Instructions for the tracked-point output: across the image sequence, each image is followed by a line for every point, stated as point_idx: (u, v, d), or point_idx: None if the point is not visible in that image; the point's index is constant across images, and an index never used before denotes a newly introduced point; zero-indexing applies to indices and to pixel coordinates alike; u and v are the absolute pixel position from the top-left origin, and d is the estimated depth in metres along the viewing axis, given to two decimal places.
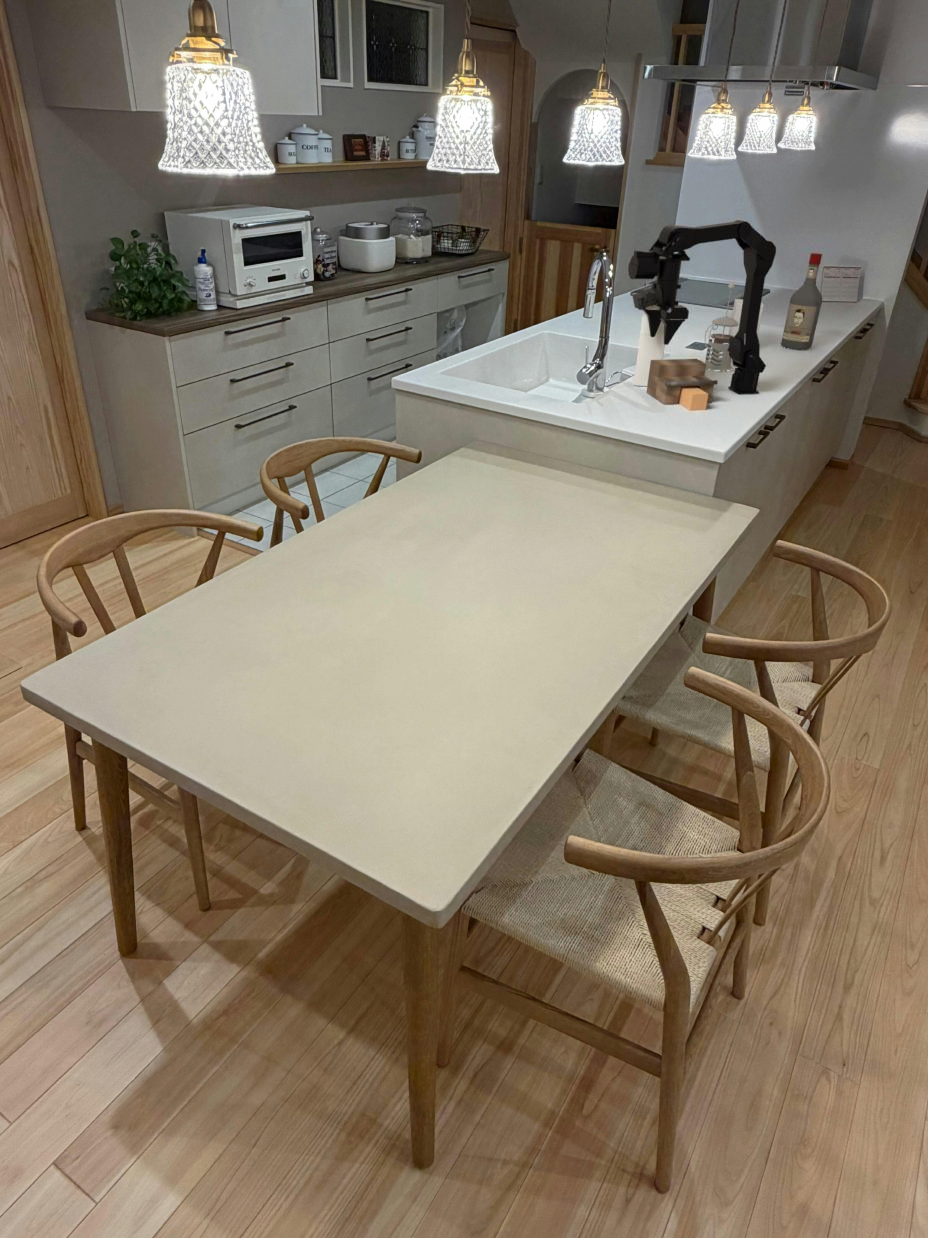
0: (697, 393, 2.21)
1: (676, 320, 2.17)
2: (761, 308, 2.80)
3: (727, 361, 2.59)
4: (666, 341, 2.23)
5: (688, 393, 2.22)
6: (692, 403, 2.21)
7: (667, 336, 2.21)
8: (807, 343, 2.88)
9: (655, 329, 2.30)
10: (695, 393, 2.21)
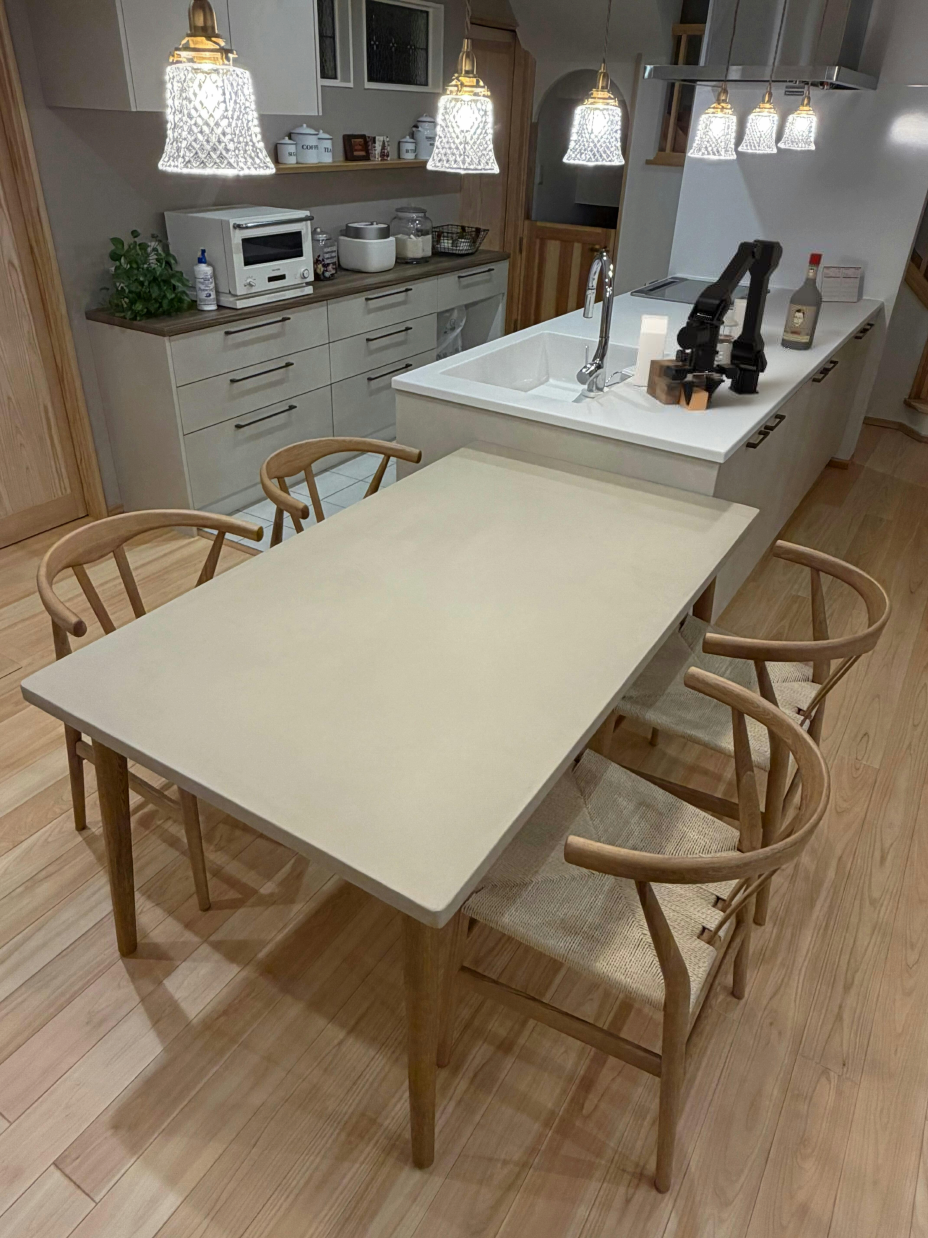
0: (697, 392, 2.21)
1: None
2: None
3: (727, 361, 2.59)
4: (685, 401, 2.22)
5: None
6: (692, 402, 2.21)
7: (685, 396, 2.22)
8: (807, 343, 2.88)
9: None
10: (695, 392, 2.21)
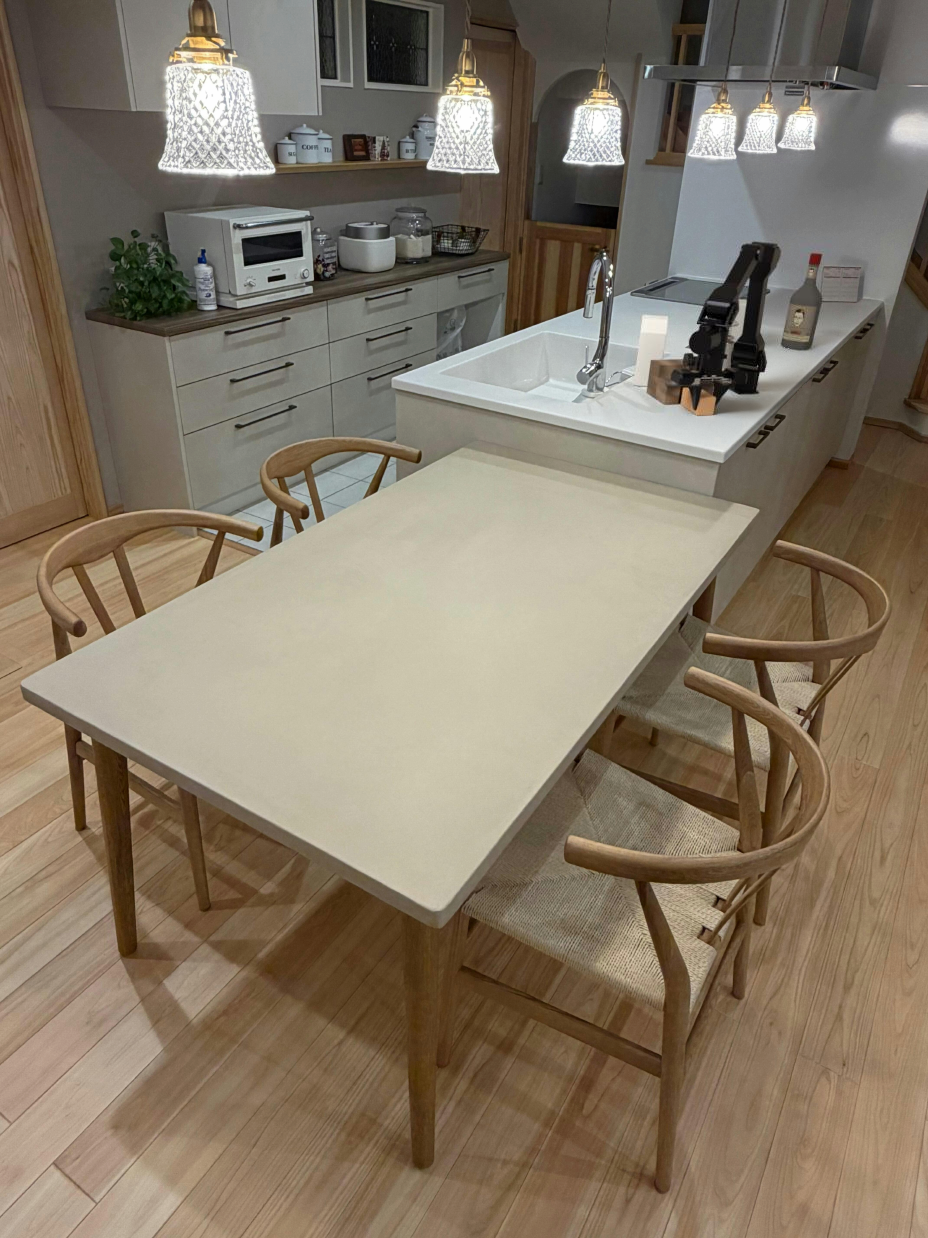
0: (705, 397, 2.17)
1: None
2: None
3: (727, 361, 2.59)
4: (693, 406, 2.19)
5: None
6: (699, 407, 2.17)
7: (692, 401, 2.18)
8: (807, 343, 2.88)
9: None
10: (703, 397, 2.17)
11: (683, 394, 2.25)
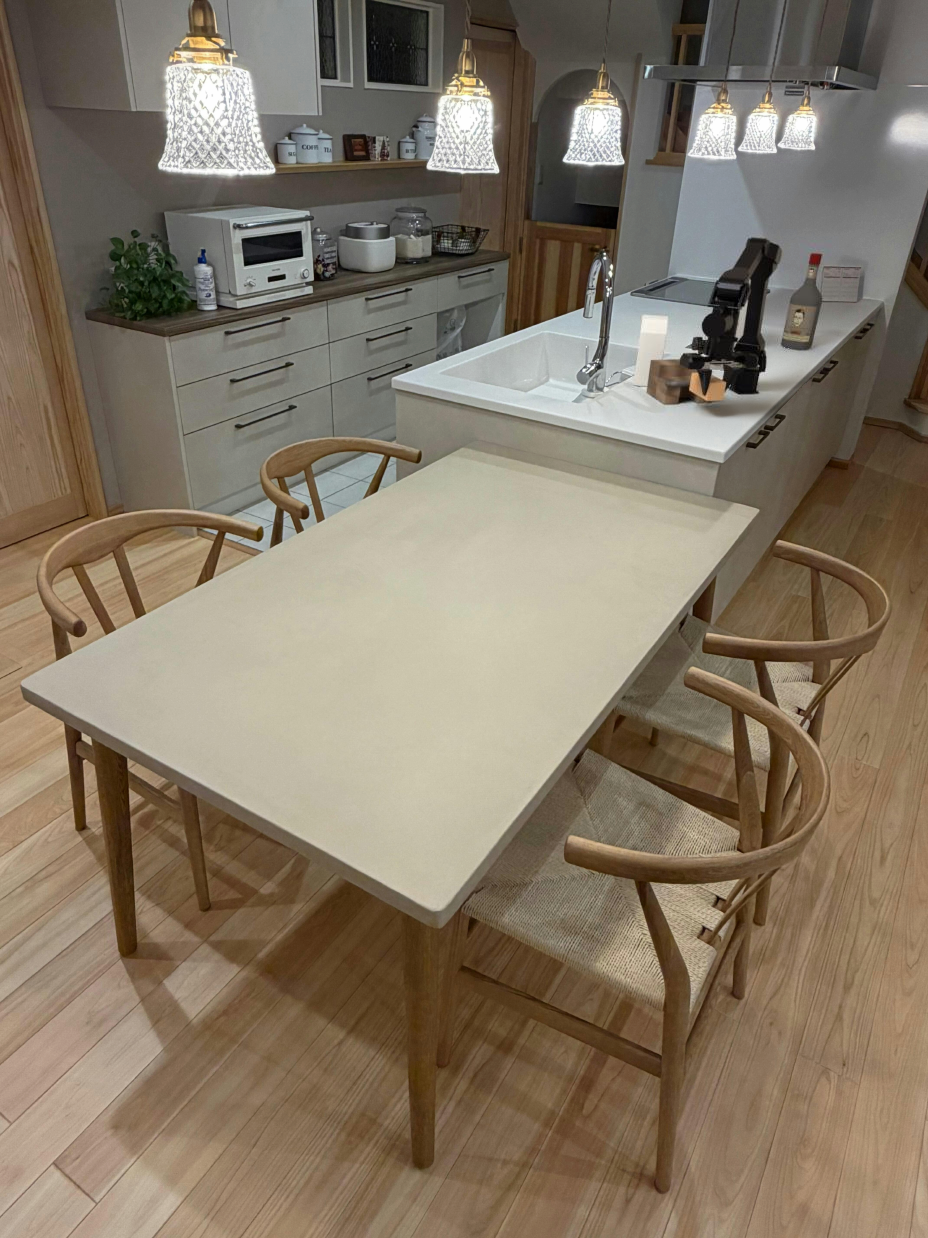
0: (714, 382, 2.12)
1: (696, 368, 2.09)
2: None
3: None
4: (702, 391, 2.13)
5: None
6: (709, 392, 2.12)
7: (701, 386, 2.13)
8: (807, 343, 2.88)
9: None
10: (712, 381, 2.12)
11: (692, 379, 2.19)
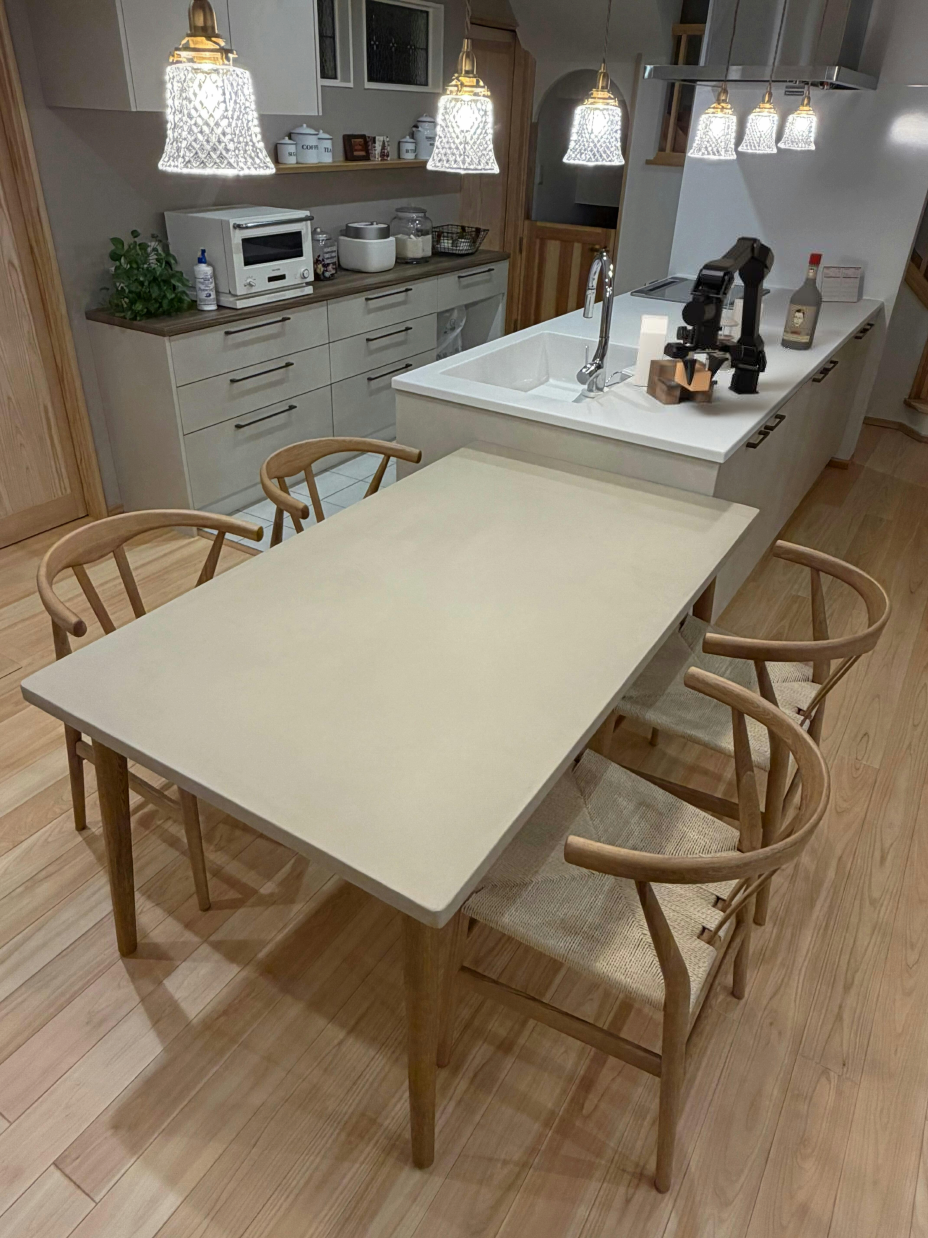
0: (699, 371, 2.09)
1: None
2: (761, 308, 2.80)
3: (727, 361, 2.59)
4: (687, 381, 2.11)
5: None
6: (694, 382, 2.09)
7: (686, 376, 2.10)
8: (807, 343, 2.88)
9: None
10: (697, 371, 2.09)
11: (677, 369, 2.16)
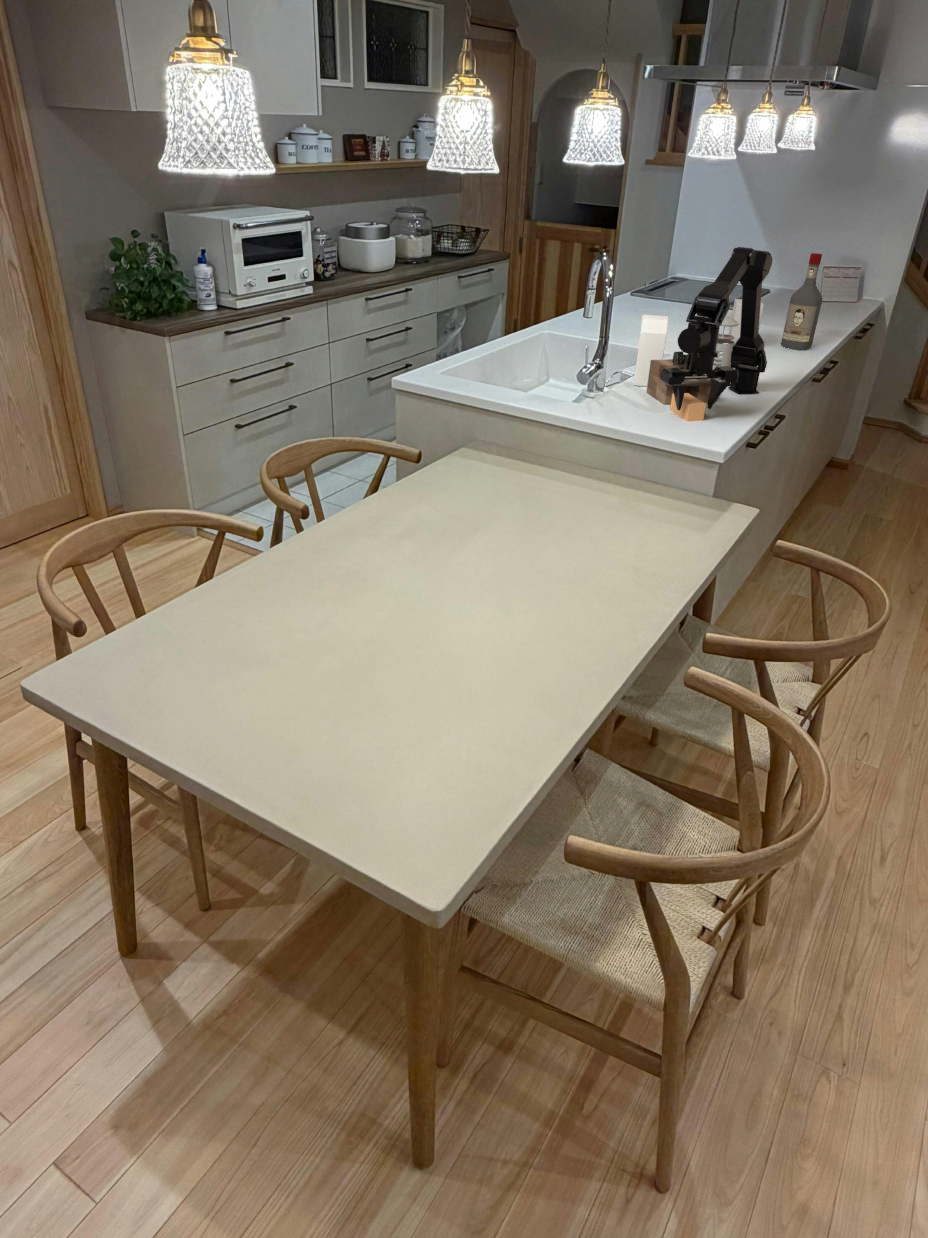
0: (694, 403, 2.13)
1: (670, 383, 2.09)
2: (761, 308, 2.80)
3: (727, 361, 2.59)
4: (676, 406, 2.13)
5: (685, 403, 2.14)
6: (689, 413, 2.13)
7: (676, 400, 2.13)
8: (807, 343, 2.88)
9: (710, 401, 2.14)
10: (692, 403, 2.13)
11: (672, 400, 2.20)
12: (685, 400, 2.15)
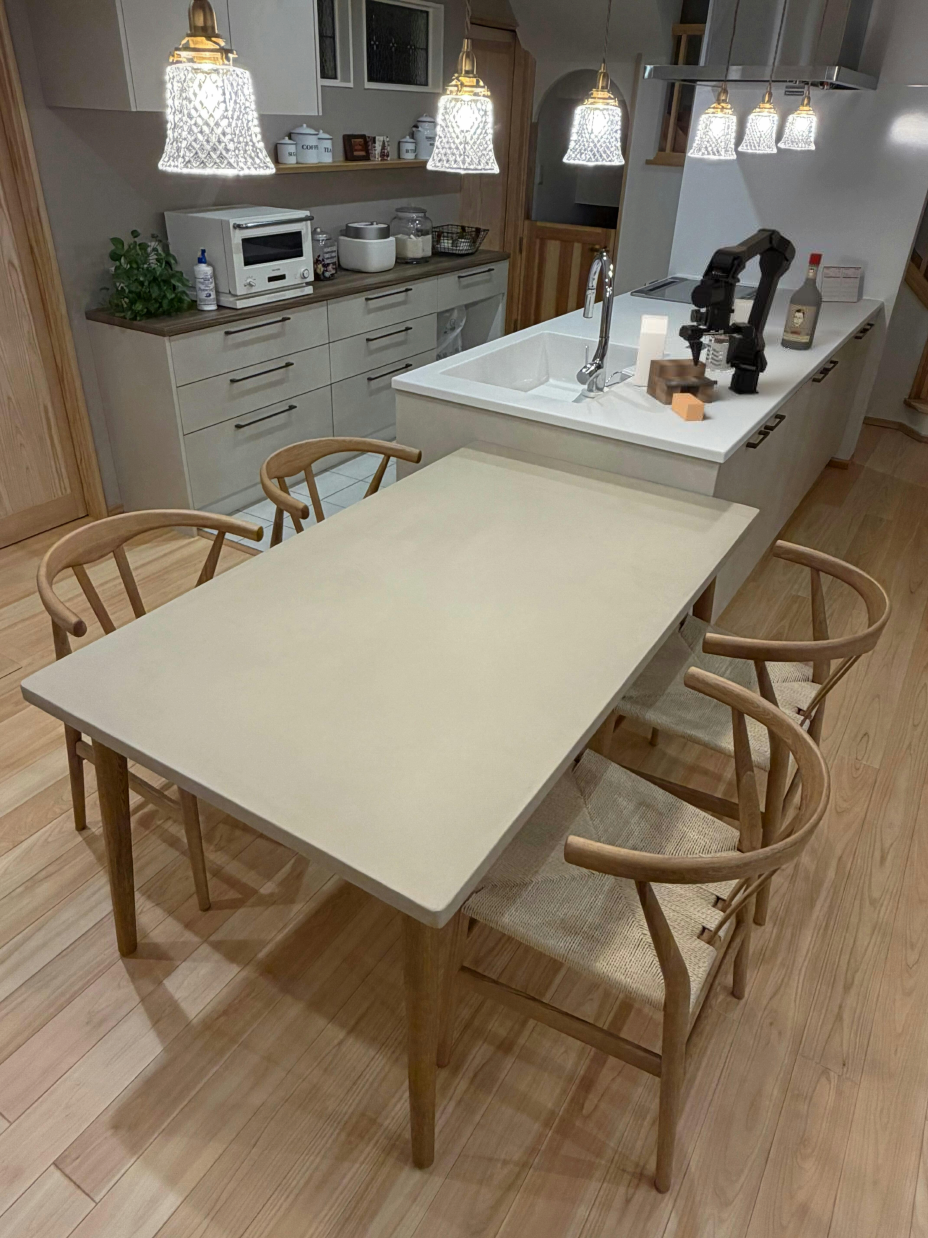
0: (693, 403, 2.13)
1: (688, 340, 2.17)
2: None
3: None
4: (694, 362, 2.22)
5: (684, 403, 2.14)
6: (688, 413, 2.13)
7: (693, 357, 2.21)
8: (807, 343, 2.88)
9: (729, 356, 2.22)
10: (691, 403, 2.13)
11: (673, 400, 2.20)
12: (684, 400, 2.15)
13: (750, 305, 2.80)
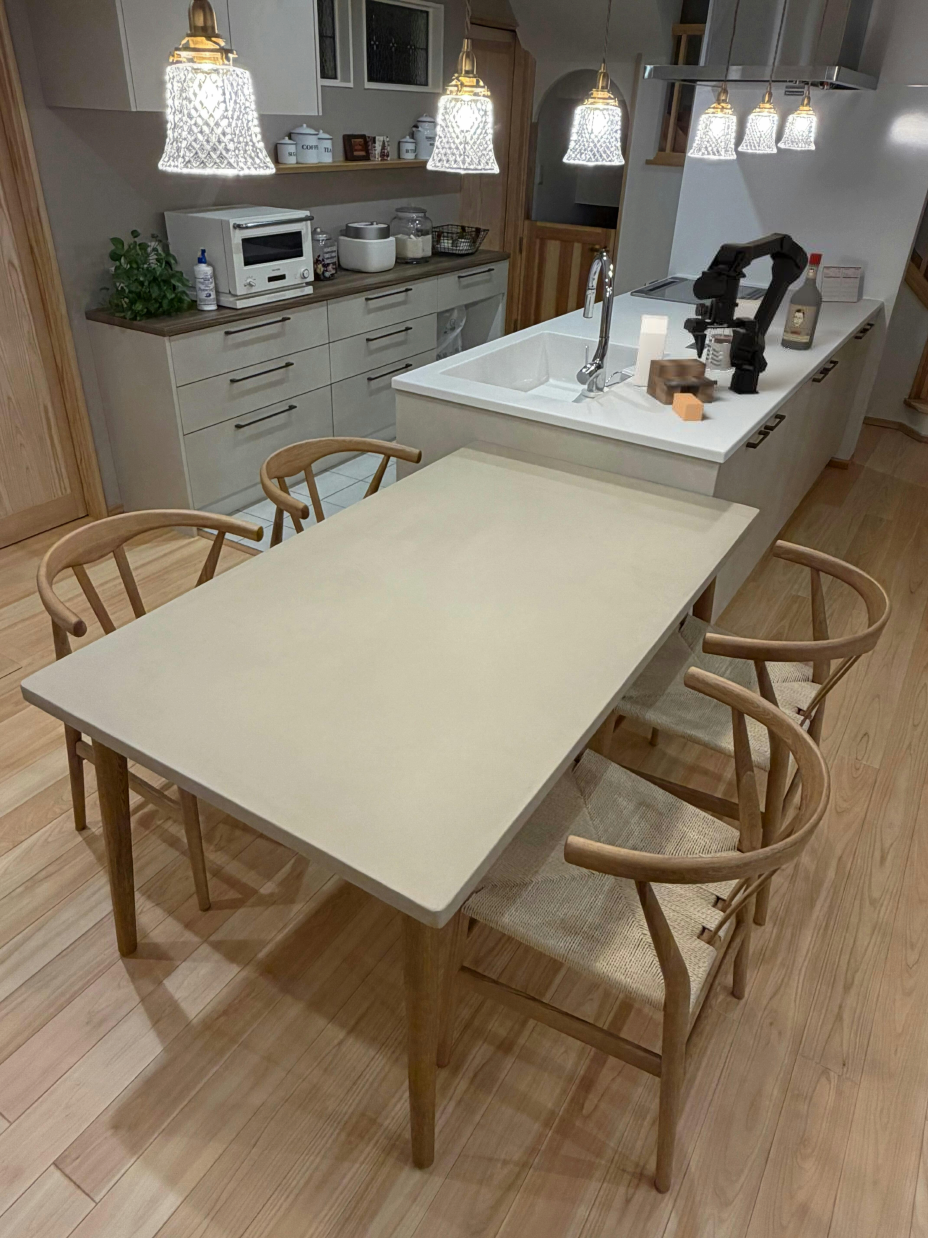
0: (692, 403, 2.13)
1: (692, 332, 2.22)
2: None
3: (727, 361, 2.59)
4: None
5: (683, 403, 2.14)
6: (686, 413, 2.13)
7: (697, 349, 2.25)
8: (807, 343, 2.88)
9: (732, 350, 2.27)
10: (690, 403, 2.13)
11: (674, 400, 2.21)
12: (684, 400, 2.15)
13: (750, 305, 2.80)
